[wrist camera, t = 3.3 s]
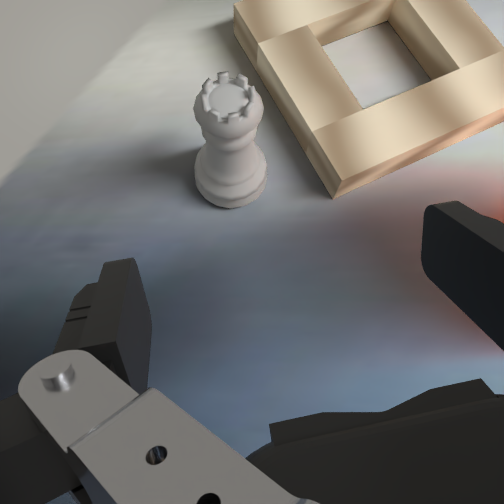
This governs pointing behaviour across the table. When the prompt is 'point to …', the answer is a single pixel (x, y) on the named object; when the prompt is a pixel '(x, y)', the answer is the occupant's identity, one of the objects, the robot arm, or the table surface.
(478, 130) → the wooden square ring
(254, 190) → the rook chess piece
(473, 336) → the table surface
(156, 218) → the table surface
